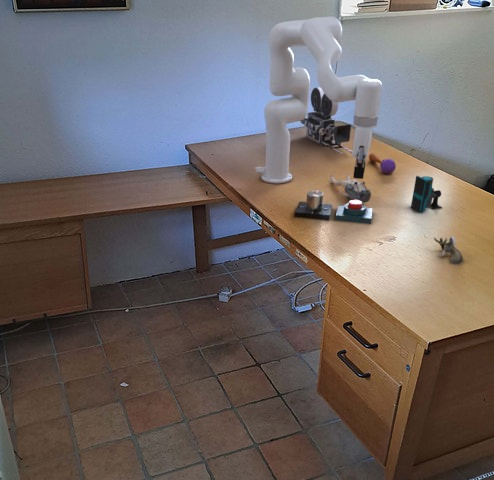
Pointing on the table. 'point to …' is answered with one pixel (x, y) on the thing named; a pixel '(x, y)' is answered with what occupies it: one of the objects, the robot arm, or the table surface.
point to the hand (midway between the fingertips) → (358, 175)
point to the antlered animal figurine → (450, 249)
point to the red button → (355, 204)
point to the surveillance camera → (424, 194)
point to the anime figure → (353, 189)
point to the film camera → (325, 122)
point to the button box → (354, 214)
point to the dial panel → (313, 212)
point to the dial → (314, 200)
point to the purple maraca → (383, 163)
